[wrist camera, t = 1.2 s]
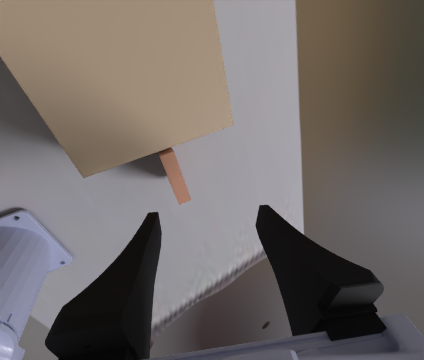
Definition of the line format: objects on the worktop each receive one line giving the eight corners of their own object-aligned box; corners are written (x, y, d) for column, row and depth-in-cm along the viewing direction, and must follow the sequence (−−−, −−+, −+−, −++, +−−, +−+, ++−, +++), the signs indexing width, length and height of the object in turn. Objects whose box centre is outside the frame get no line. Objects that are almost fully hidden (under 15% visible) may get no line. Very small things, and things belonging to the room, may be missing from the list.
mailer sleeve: (-50, -77, 11) (-154, -170, 7) (167, -95, 14) (185, -169, 10) (92, 156, 19) (83, 178, 15) (213, 116, 22) (233, 124, 17)
